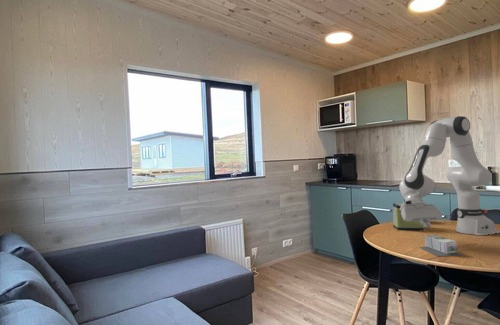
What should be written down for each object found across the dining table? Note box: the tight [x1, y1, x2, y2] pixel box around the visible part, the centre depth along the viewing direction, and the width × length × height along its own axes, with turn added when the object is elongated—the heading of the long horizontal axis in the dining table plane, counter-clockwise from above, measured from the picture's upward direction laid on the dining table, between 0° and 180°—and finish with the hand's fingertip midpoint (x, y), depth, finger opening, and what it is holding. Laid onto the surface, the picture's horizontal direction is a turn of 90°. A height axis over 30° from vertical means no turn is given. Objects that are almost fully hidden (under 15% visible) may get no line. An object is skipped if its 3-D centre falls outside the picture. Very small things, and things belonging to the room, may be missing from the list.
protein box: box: [392, 202, 424, 231], centre depth 205 cm, size 10×16×16 cm
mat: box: [419, 246, 463, 257], centre depth 156 cm, size 12×15×1 cm
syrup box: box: [424, 234, 458, 254], centre depth 157 cm, size 6×6×14 cm
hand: (427, 226), depth 165 cm, fingers closed
